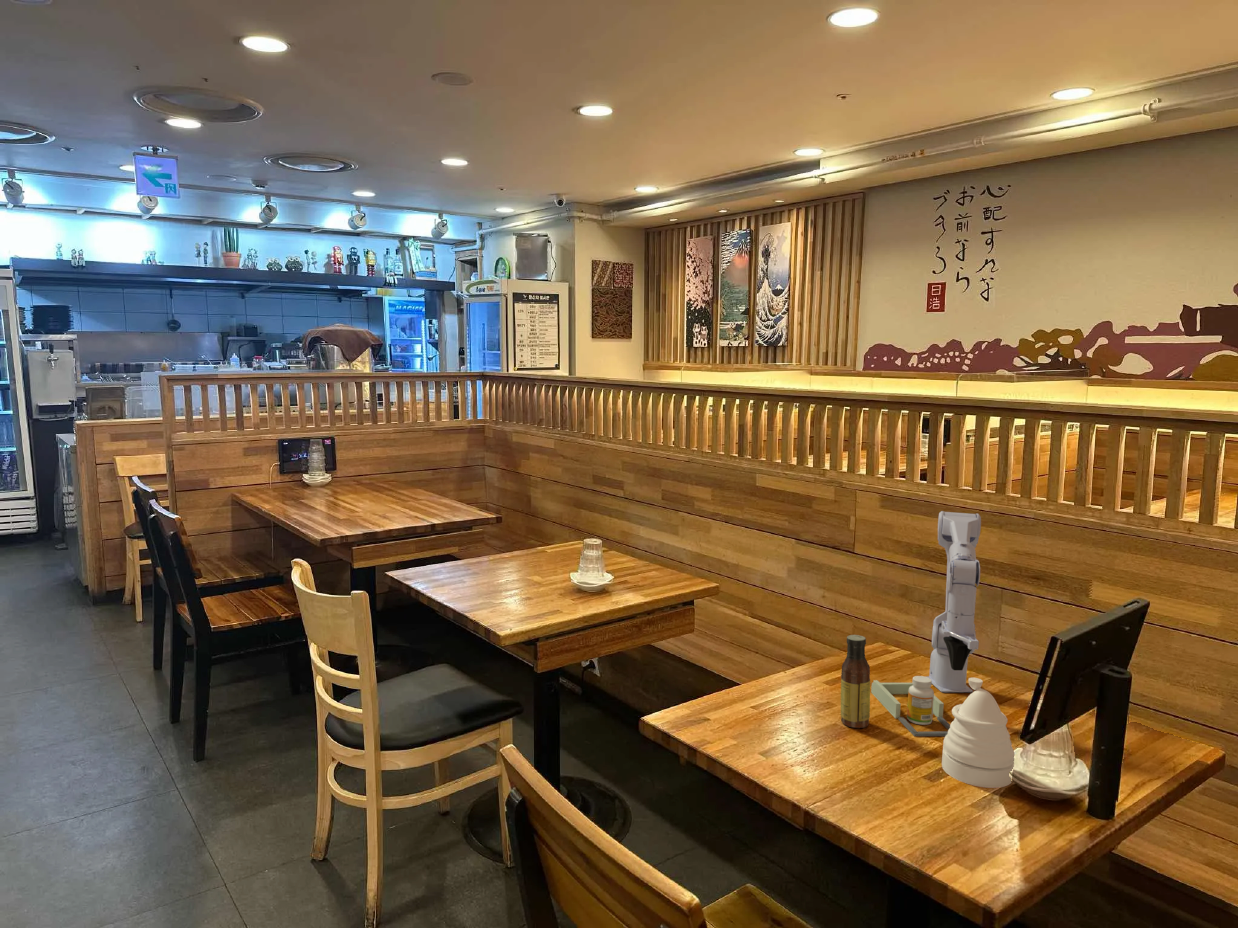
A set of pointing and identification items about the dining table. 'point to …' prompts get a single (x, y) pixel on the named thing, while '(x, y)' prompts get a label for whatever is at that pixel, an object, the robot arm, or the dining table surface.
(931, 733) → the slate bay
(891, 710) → the pale green open frame
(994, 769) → the honey pot
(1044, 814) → the dining table surface
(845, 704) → the sauce bottle
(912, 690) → the supplement bottle
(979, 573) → the robot arm
